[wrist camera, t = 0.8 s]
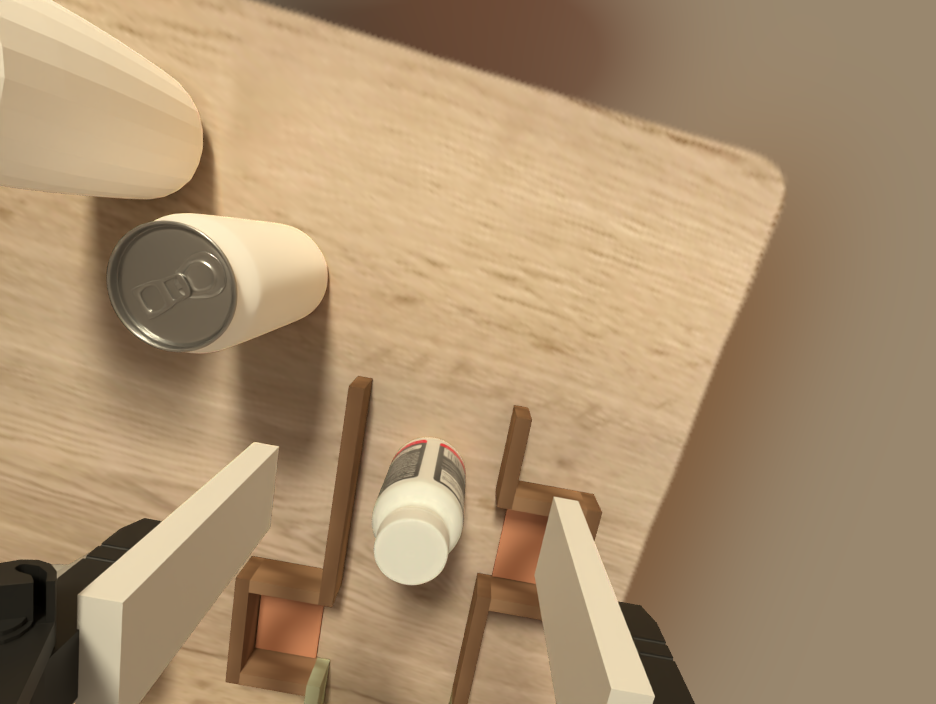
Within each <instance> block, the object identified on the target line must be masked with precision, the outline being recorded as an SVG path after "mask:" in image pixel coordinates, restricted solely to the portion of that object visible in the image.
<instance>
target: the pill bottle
mask: <svg viewBox="0 0 936 704" xmlns="http://www.w3.org/2000/svg"><path fill="white" fill-rule="evenodd" d="M464 495H465V465H464V462H463V459H462V457H461V455H460V454H459V453H458V451H457V450H456V449H455V448H454V447H453V446H452V445H450V444H449V443H447V442H445V441H443V440H441V439H438V438H431V437H424V438H417V439H414V440H412V441H410V442H408V443H407V444H405V445H404V446H403V447H401V448H400V449H399V451H398V452H397V453H396V455H395V457H394V459H393V460H392V463H391V465H390V467H389V470H388V473H387V475H386V478H385V480H384V483H383V486H382V488H381V490H380V493H379V496H378V498H377V501H376V503H375V506H374V509H373V514H372V529H373V533H374V536H375V538H376V540H375V543H374V557H375V561H376V563H377V565H378V567H379V569H380V570H381V571H382V573H383V574H384V575H386V576H387V577H388V578H390V579H391V580H393V581H395V582H398V583H401V584H405V585H419V584H423V583H426V582H428V581H431V580H432V579H434V578H435V577H437V576H438V575H439V574H440V573H441V571H442V570H443V568H444V567H445V564H446V562H447V558H448V554H449V553H450V552H451V551H452V550H453V548H454V547H455V546H456V544H457V543H458V541H459V539H460V536H461V533H462V529H463V522H464Z"/></svg>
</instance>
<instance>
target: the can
mask: <svg viewBox="0 0 936 704" xmlns="http://www.w3.org/2000/svg"><path fill="white" fill-rule="evenodd" d="M106 281H107V290H108V295H109V298H110V301H111V304H112V306H113V308H114V310H115V312H116V314H117V316H118V317H119V319H120V320H121V322H122V323H123V324H124V325H125V327H126V328H127V329H128V330H129V331H130V332H131V333H132V334H134V335H135V336H136V337H137V338H139V339H140V340H142V341H143V342H145V343H147V344H149V345H151V346H153V347H155V348H158V349H161V350H165V351H170V352H188V353H211V352H217V351H221V350H224V349H227V348H230V347H233V346H235V345H238V344H240V343H243V342H246V341H248V340H251V339H253V338H256V337H258V336H261V335H263V334H266V333H268V332H271V331H273V330H276V329H278V328H280V327H283V326H285V325H288V324H290V323H293V322H295V321H297V320H300V319H302V318H304V317H305V316H307V315H308V314H310V313H311V312H312V311H314V310H315V309H316V307H317V306H318V305H319V304H320V302H321V301H322V299H323V297H324V294H325V292H326V288H327V282H328V269H327V264H326V261H325V259H324V256H323V254H322V253H321V251H320V249H319V248H318V246H317V245H316V244H315V242H314V241H313V240H312V239H311V238H310V237H309V236H308V235H306V234H305V233H304V232H302V231H300V230H299V229H297V228H294V227H292V226H289V225H285V224H279V223H273V222H265V221H257V220H249V219H241V218H232V217H224V216H215V215H205V214H193V213H181V214H172V215H167V216H164V217H161V218H159V219H156V220H154V221H152V222H148V223H145V224H142V225H139V226H137V227H135V228H134V229H132V230H130V231H129V232H128V233H126V234H125V235H124V236H123V237H122V238H121V239H120V240H119V242H118V243H117V244H116V246H115V248H114V249H113V251H112V253H111V256H110V259H109V262H108V266H107V275H106Z"/></svg>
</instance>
